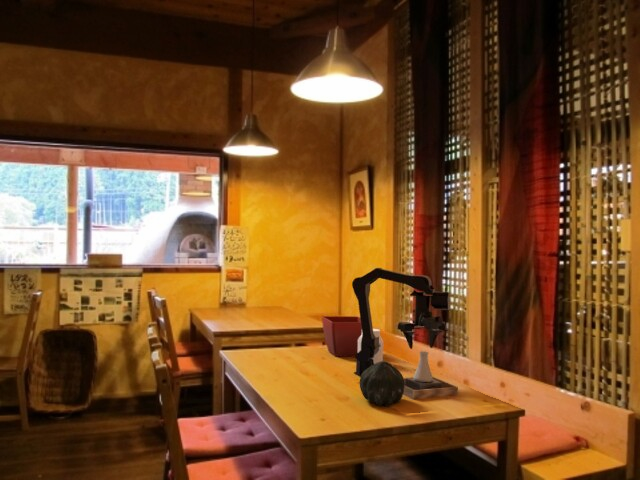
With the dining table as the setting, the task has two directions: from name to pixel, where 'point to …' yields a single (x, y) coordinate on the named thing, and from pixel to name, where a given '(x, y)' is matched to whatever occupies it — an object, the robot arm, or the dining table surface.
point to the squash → (382, 384)
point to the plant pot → (342, 334)
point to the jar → (379, 355)
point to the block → (422, 384)
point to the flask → (423, 369)
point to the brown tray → (431, 391)
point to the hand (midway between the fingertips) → (421, 348)
